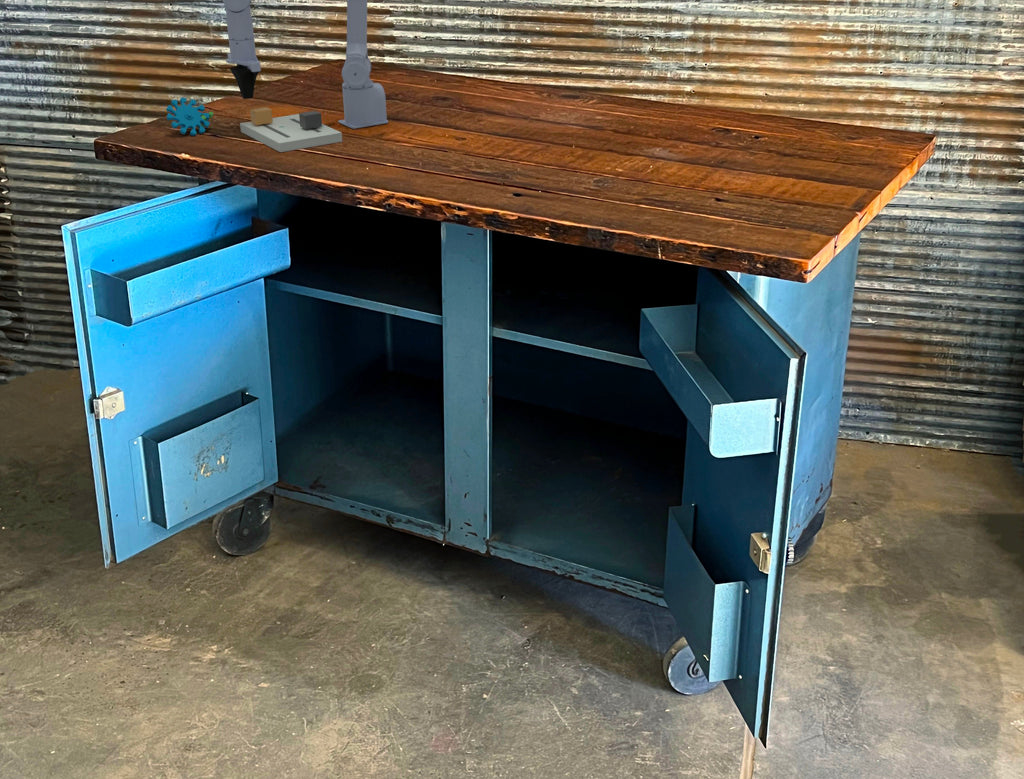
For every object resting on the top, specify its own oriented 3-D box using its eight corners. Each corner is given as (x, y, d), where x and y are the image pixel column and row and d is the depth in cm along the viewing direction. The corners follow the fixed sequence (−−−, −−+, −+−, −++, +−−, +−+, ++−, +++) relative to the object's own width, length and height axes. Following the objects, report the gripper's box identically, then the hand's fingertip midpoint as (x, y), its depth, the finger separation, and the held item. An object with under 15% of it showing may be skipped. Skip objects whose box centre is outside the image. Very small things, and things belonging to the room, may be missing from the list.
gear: (173, 132, 279) (162, 95, 282) (167, 147, 284) (156, 110, 287) (220, 132, 285) (209, 95, 288) (213, 146, 290) (202, 110, 293)
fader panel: (300, 122, 293) (299, 113, 292) (342, 141, 276) (341, 132, 275) (241, 131, 285) (240, 123, 285) (280, 152, 269) (279, 143, 268)
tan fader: (267, 119, 285) (266, 106, 284) (272, 122, 283) (271, 109, 282) (251, 122, 283) (249, 109, 282) (256, 125, 281) (255, 112, 280)
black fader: (316, 123, 281) (315, 110, 280) (322, 126, 279) (321, 113, 278) (300, 126, 279) (299, 113, 278) (305, 129, 277) (304, 115, 276)
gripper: (212, 35, 284) (219, 94, 290) (237, 45, 273) (243, 106, 279) (241, 32, 288) (247, 90, 294) (266, 41, 277) (272, 102, 283)
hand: (247, 98), depth 287 cm, fingers closed
